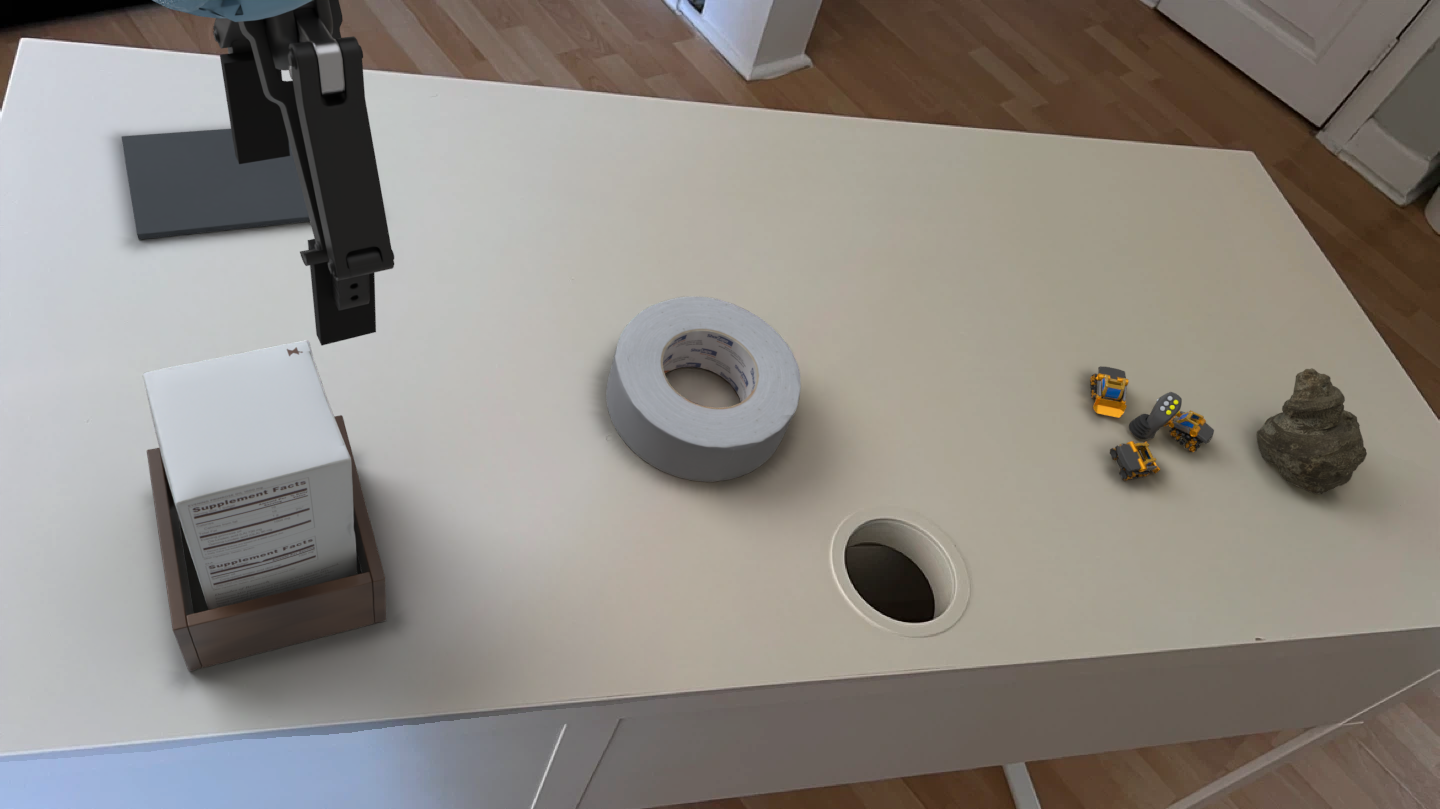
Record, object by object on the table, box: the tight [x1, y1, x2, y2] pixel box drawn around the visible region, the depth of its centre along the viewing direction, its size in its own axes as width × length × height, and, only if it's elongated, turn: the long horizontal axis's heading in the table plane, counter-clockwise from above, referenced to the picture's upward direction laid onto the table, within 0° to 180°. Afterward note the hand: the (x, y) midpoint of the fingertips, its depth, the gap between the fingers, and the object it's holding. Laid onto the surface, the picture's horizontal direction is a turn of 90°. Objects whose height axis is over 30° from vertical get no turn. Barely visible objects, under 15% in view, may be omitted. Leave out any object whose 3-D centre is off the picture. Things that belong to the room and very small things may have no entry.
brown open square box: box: [146, 414, 387, 672], centre depth 70 cm, size 12×13×6 cm
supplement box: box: [141, 339, 359, 610], centre depth 66 cm, size 10×9×17 cm
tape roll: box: [605, 295, 802, 483], centre depth 87 cm, size 15×15×5 cm
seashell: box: [1256, 367, 1401, 506], centre depth 98 cm, size 11×12×10 cm
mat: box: [120, 128, 310, 240], centre depth 92 cm, size 18×12×1 cm, turn 113°
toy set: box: [1089, 365, 1215, 482], centre depth 96 cm, size 12×11×5 cm
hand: (302, 240), depth 56 cm, fingers open, 13 cm apart
